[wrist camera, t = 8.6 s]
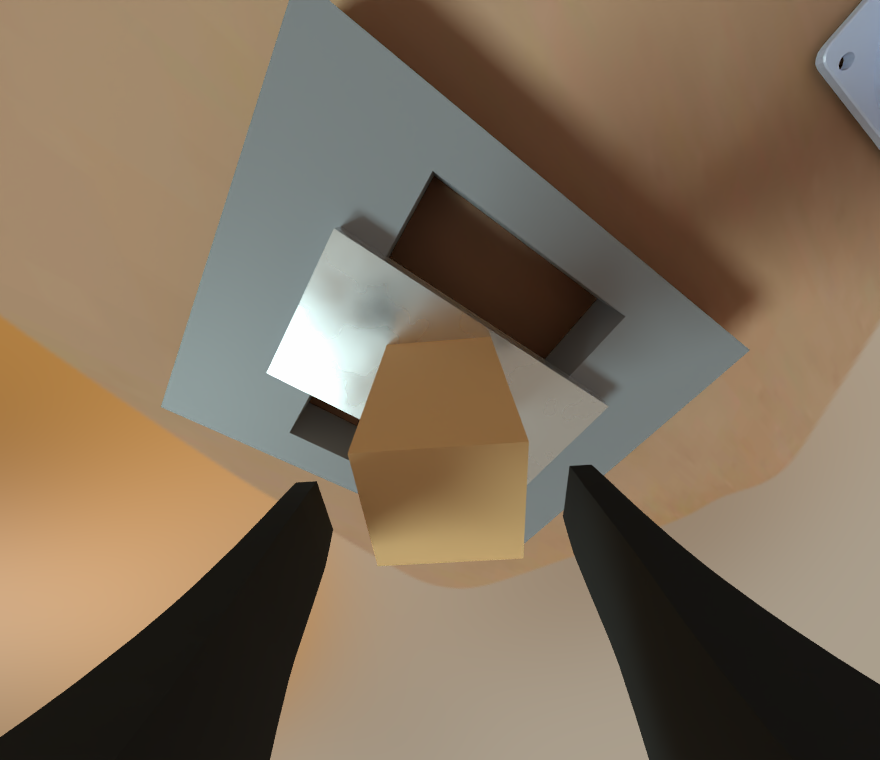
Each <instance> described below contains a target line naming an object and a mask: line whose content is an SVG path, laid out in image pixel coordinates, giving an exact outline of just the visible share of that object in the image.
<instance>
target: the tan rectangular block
mask: <svg viewBox="0 0 880 760" xmlns="http://www.w3.org/2000/svg"><path fill="white" fill-rule="evenodd" d="M528 452H529V440H528V438H527V435H526V432H525V429H524V427H523V424H522V421H521V418H520V416H519V413H518V410H517V407H516V405H515V402H514V399H513V396H512V394H511V391H510V388H509V385H508V383H507V380H506V377H505V374H504V372H503V369H502V366H501V363H500V361H499V358H498V355H497V352H496V350H495V347H494V344H493V341H492V339H491V337H479V338H466V339H454V340H441V341H428V342H415V343H403V344H390V345H387V346H386V348H385V351H384V354H383V357H382V360H381V362H380V365H379V368H378V371H377V373H376V376H375V379H374V382H373V384H372V387H371V390H370V393H369V396H368V398H367V401H366V404H365V407H364V409H363V412H362V415H361V418H360V420H359V423H358V426H357V429H356V431H355V434H354V437H353V440H352V443H351V445H350V448H349V451H348V457H349V461H350V465H351V468H352V472H353V476H354V480H355V483H356V487H357V491H358V494H359V498H360V502H361V505H362V509H363V513H364V517H365V520H366V524H367V528H368V531H369V535H370V539H371V543H372V546H373V550H374V554H375V557H376V561H377V564H378V566H389V565H408V564H427V563H446V562H466V561H485V560H504V559H523V554H524V533H525V513H526V493H527V472H528Z"/></svg>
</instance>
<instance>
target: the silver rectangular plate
mask: <svg viewBox="0 0 880 760" xmlns="http://www.w3.org/2000/svg"><path fill="white" fill-rule="evenodd" d="M479 337H491V339H492V341H493V344H494V347H495V350H496V352H497V355H498V358H499V361H500V363H501V366H502V369H503V372H504V374H505V377H506V380H507V383H508V385H509V388H510V391H511V394H512V396H513V399H514V402H515V405H516V407H517V410H518V413H519V416H520V418H521V421H522V424H523V427H524V429H525V432H526V435H527V438H528V440H529V452H528V472H527V484H528V483H530V482H531V481H532V480H533V479H534V478H535V477H536V476H537V475H538V474H539V473H540V472H541V471H542V470H543V469H544V468H545V467H546V466H547V465H548V464H549V463H550V462H551V461H552V460H554V459H555V458H556V457H557V456H558V455H559V454H560V453H561V452H562V451H563V450H564V449H565V448H566V447H567V446H568V445H569V444H570V443H571V442H572V441H573V440H574V439H575V438H576V437H578V436H579V435H580V434H581V433H582V432H583V431H584V430H585V429H586V428H587V427H588V426H589V425H590V424H591V423H592V422H593V421H594V420H595V419H596V418H597V417H598V416H599V415H601V414H602V413H603V412H604V411H605V410H606V409H607V408H608V407H609V406H608V405H607V404H606V403H605V401H604V400H603V399H602V398H601V396H600V395H598V394H597V393H595V392H594V391H592V390H591V389H589V388H587V387H586V386H584V385H583V384H581V383H580V382H578V381H577V380H575V379H574V378H572V377H571V376H569V375H568V374H566V373H565V372H563V371H561V370H560V369H558V368H557V367H555V366H554V365H552V364H551V363H549V362H548V361H546V360H545V359H543V358H542V357H540V356H539V355H537V354H535V353H534V352H532V351H531V350H529V349H528V348H526V347H525V346H523V345H522V344H520V343H519V342H517V341H516V340H514V339H513V338H511V337H509V336H508V335H506V334H505V333H503V332H502V331H500V330H499V329H497V328H496V327H494V326H493V325H491V324H490V323H488V322H487V321H485V320H483V319H482V318H480V317H479V316H477V315H476V314H474V313H473V312H471V311H470V310H468V309H467V308H465V307H464V306H462V305H460V304H459V303H457V302H456V301H454V300H453V299H451V298H450V297H448V296H447V295H445V294H444V293H442V292H441V291H439V290H438V289H436V288H434V287H433V286H431V285H430V284H428V283H427V282H425V281H424V280H422V279H421V278H419V277H418V276H416V275H415V274H413V273H412V272H410V271H408V270H407V269H405V268H404V267H402V266H401V265H399V264H398V263H396V262H395V261H393V260H392V259H390V258H389V257H387V256H386V255H384V254H382V253H381V252H379V251H378V250H376V249H375V248H373V247H372V246H370V245H369V244H367V243H366V242H364V241H363V240H361V239H360V238H358V237H356V236H355V235H353V234H352V233H350V232H349V231H347V230H346V229H344V228H343V227H341V226H340V227H337V228H334V229H333V231H332V233H331V236H330V238H329V240H328V242H327V244H326V246H325V249H324V251H323V253H322V255H321V257H320V259H319V262H318V264H317V266H316V268H315V270H314V272H313V275H312V277H311V279H310V281H309V283H308V285H307V287H306V290H305V292H304V294H303V296H302V298H301V300H300V303H299V305H298V307H297V309H296V311H295V313H294V316H293V318H292V320H291V322H290V324H289V326H288V329H287V331H286V333H285V335H284V337H283V339H282V342H281V344H280V346H279V348H278V350H277V352H276V355H275V357H274V359H273V361H272V363H271V365H270V368H269V370H268V372H267V373H268V374H270V375H272V376H274V377H276V378H278V379H280V380H282V381H284V382H286V383H288V384H290V385H292V386H294V387H296V388H298V389H300V390H302V391H304V392H306V393H308V394H310V395H312V396H314V397H316V398H318V399H320V400H322V401H324V402H326V403H328V404H330V405H332V406H334V407H336V408H338V409H340V410H342V411H344V412H346V413H348V414H350V415H352V416H354V417H356V418H358V419H360V418H361V415H362V412H363V409H364V407H365V404H366V401H367V398H368V396H369V393H370V390H371V387H372V384H373V382H374V379H375V376H376V373H377V371H378V368H379V365H380V362H381V360H382V357H383V354H384V351H385V348H386V346H387V345H390V344H403V343H415V342H428V341H441V340H454V339H466V338H479Z"/></svg>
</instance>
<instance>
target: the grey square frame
mask: <svg viewBox="0 0 880 760" xmlns="http://www.w3.org/2000/svg"><path fill="white" fill-rule="evenodd" d="M433 176H435V177H437V178H438V179H439V180H441V181H442V182H443V183H445V184H446V185H447V186H449V187H450V188H451V189H453V190H454V191H455V192H457V193H458V194H459V195H461V196H462V197H463V198H465V199H466V200H467V201H469V202H470V203H471V204H473V205H474V206H475V207H477V208H478V209H479V210H481V211H482V212H483V213H485V214H486V215H487V216H489V217H490V218H491V219H493V220H494V221H495V222H497V223H498V224H499V225H501V226H502V227H503V228H505V229H506V230H507V231H508V232H510V233H511V234H512V235H514V236H515V237H516V238H518V239H519V240H520V241H522V242H523V243H524V244H526V245H527V246H528V247H530V248H531V249H532V250H534V251H535V252H536V253H538V254H539V255H540V256H542V257H543V258H544V259H546V260H547V261H548V262H550V263H551V264H552V265H554V266H555V267H556V268H558V269H559V270H560V271H562V272H563V273H564V274H566V275H567V276H568V277H570V278H571V279H572V280H574V281H575V282H576V283H578V284H579V285H580V286H582V287H583V288H584V289H585V290H587V291H588V292H589V293H591V294H592V295H593V296H595V297H596V298H597V300H596V301H595V302H594V303H593V305H592V306H591V307H590V308H589V309H588V310H587V311H586V313H585V314H584V315H583V316H582V317H581V318H580V319H579V321H578V322H577V323H576V324H575V325H574V326H573V327H572V329H571V330H570V331H569V332H568V333H567V334H566V335H565V337H564V338H563V339H562V340H561V341H560V342H559V343H558V345H557V346H556V347H555V348H554V349H553V350H552V352H551V353H550V354H549V355H548V356H547V357H546V358H545V360H546V361H548V362H549V363H551V364H552V365H554V366H555V367H557V368H558V369H560V370H561V371H563V372H565V373H566V374H568V375H569V376H571V377H572V378H574V379H575V380H577V381H578V382H580V383H581V384H583V385H584V386H586V387H587V388H589V389H591V390H592V391H594V392H595V393H597V394H598V395H600V396H601V398H602V399H603V400H604V401H605V403H606V404H607V405H608V406H609V407H608V408H607V409H606V410H605V411H604V412H603V413H602V414H601V415H599V416H598V417H597V418H596V419H595V420H594V421H593V422H592V423H591V424H590V425H589V426H588V427H587V428H586V429H585V430H584V431H583V432H582V433H581V434H580V435H579V436H578V437H576V438H575V439H574V440H573V441H572V442H571V443H570V444H569V445H568V446H567V447H566V448H565V449H564V450H563V451H562V452H561V453H560V454H559V455H558V456H557V457H556V458H555V459H554V460H552V461H551V462H550V463H549V464H548V465H547V466H546V467H545V468H544V469H543V470H542V471H541V472H540V473H539V474H538V475H537V476H536V477H535V478H534V479H533V480H532V481H531V482H530V483H528V484H527V493H526V513H525V533H524V543H525V542H527V541H528V540H529V539H530V538H531V537H532V536H534V535H535V534H536V533H537V532H538V531H539V530H541V529H542V528H543V527H544V526H545V525H546V524H548V523H549V522H550V521H551V520H552V519H553V518H555V517H556V516H557V515H558V514H559V513H560V512H562V511H563V510H564V505H565V497H566V489H567V481H568V473H569V466H575V465H593V466H594V467H595V468H596V469H597V470H598V471H599V472H600V473H601V474H602V475H603V476H604V475H605V474H606V473H607V472H608V471H609V470H611V469H612V468H613V467H614V466H615V465H616V464H618V463H619V462H620V461H621V460H622V459H623V458H625V457H626V456H627V455H628V454H629V453H630V452H632V451H633V450H634V449H635V448H636V447H637V446H639V445H640V444H641V443H642V442H643V441H644V440H646V439H647V438H648V437H649V436H650V435H651V434H653V433H654V432H655V431H656V430H657V429H658V428H660V427H661V426H662V425H663V424H664V423H665V422H667V421H668V420H669V419H670V418H671V417H672V416H674V415H675V414H676V413H677V412H678V411H679V410H681V409H682V408H683V407H684V406H685V405H686V404H688V403H689V402H690V401H691V400H692V399H693V398H695V397H696V396H697V395H698V394H699V393H700V392H702V391H703V390H704V389H705V388H706V387H707V386H709V385H710V384H711V383H712V382H713V381H714V380H716V379H717V378H718V377H719V376H720V375H721V374H723V373H724V372H725V371H726V370H727V369H728V368H730V367H731V366H732V365H733V364H734V363H735V362H737V361H738V360H739V359H740V358H741V357H742V356H744V355H745V354H746V353H747V352H748V351H749V349H748V348H747V347H745V346H744V345H743V344H742V343H741V342H739V341H738V340H737V339H736V338H735V337H733V336H732V335H731V334H730V333H729V332H727V331H726V330H725V329H724V328H722V327H721V326H720V325H719V324H718V323H716V322H715V321H714V320H713V319H712V318H710V317H709V316H708V315H707V314H706V313H704V312H703V311H702V310H701V309H700V308H698V307H697V306H696V305H695V304H694V303H692V302H691V301H690V300H689V299H688V298H686V297H685V296H684V295H683V294H682V293H680V292H679V291H678V290H677V289H676V288H674V287H673V286H672V285H671V284H670V283H668V282H667V281H666V280H665V279H664V278H662V277H661V276H660V275H659V274H658V273H656V272H655V271H654V270H653V269H652V268H650V267H649V266H648V265H647V264H645V263H644V262H643V261H642V260H641V259H639V258H638V257H637V256H636V255H635V254H633V253H632V252H631V251H630V250H629V249H627V248H626V247H625V246H624V245H623V244H621V243H620V242H619V241H618V240H617V239H615V238H614V237H613V236H612V235H611V234H609V233H608V232H607V231H606V230H605V229H603V228H602V227H601V226H600V225H599V224H597V223H596V222H595V221H594V220H593V219H591V218H590V217H589V216H588V215H587V214H585V213H584V212H583V211H582V210H581V209H579V208H578V207H577V206H576V205H575V204H573V203H572V202H571V201H570V200H568V199H567V198H566V197H565V196H564V195H562V194H561V193H560V192H559V191H558V190H556V189H555V188H554V187H553V186H552V185H550V184H549V183H548V182H547V181H546V180H544V179H543V178H542V177H541V176H540V175H538V174H537V173H536V172H535V171H534V170H532V169H531V168H530V167H529V166H528V165H526V164H525V163H524V162H523V161H522V160H520V159H519V158H518V157H517V156H516V155H514V154H513V153H512V152H511V151H510V150H508V149H507V148H506V147H505V146H504V145H502V144H501V143H500V142H499V141H498V140H496V139H495V138H494V137H493V136H492V135H490V134H489V133H488V132H487V131H485V130H484V129H483V128H482V127H481V126H479V125H478V124H477V123H476V122H475V121H473V120H472V119H471V118H470V117H469V116H467V115H466V114H465V113H464V112H463V111H461V110H460V109H459V108H458V107H457V106H455V105H454V104H453V103H452V102H451V101H449V100H448V99H447V98H446V97H445V96H443V95H442V94H441V93H440V92H439V91H437V90H436V89H435V88H434V87H433V86H431V85H430V84H429V83H428V82H427V81H425V80H424V79H423V78H422V77H421V76H419V75H418V74H417V73H416V72H415V71H413V70H412V69H411V68H410V67H408V66H407V65H406V64H405V63H404V62H402V61H401V60H400V59H399V58H398V57H396V56H395V55H394V54H393V53H392V52H390V51H389V50H388V49H387V48H386V47H384V46H383V45H382V44H381V43H380V42H378V41H377V40H376V39H375V38H374V37H372V36H371V35H370V34H369V33H368V32H366V31H365V30H364V29H363V28H362V27H360V26H359V25H358V24H357V23H356V22H354V21H353V20H352V19H351V18H350V17H348V16H347V15H346V14H345V13H344V12H342V11H341V10H340V9H339V8H338V7H336V6H335V5H334V4H333V3H331V2H330V1H329V0H289V3H288V6H287V9H286V12H285V15H284V18H283V22H282V25H281V28H280V31H279V34H278V37H277V41H276V44H275V47H274V50H273V53H272V56H271V60H270V63H269V66H268V69H267V72H266V75H265V79H264V82H263V85H262V88H261V91H260V95H259V98H258V101H257V104H256V107H255V110H254V114H253V117H252V120H251V123H250V126H249V129H248V133H247V136H246V139H245V142H244V145H243V148H242V152H241V155H240V158H239V161H238V164H237V167H236V171H235V174H234V177H233V180H232V183H231V187H230V190H229V193H228V196H227V199H226V202H225V206H224V209H223V212H222V215H221V218H220V221H219V225H218V228H217V231H216V234H215V237H214V240H213V244H212V247H211V250H210V253H209V256H208V259H207V263H206V266H205V269H204V272H203V275H202V279H201V282H200V285H199V288H198V291H197V294H196V298H195V301H194V304H193V307H192V310H191V313H190V317H189V320H188V323H187V326H186V329H185V332H184V336H183V339H182V342H181V345H180V348H179V351H178V355H177V358H176V361H175V364H174V367H173V371H172V374H171V377H170V380H169V383H168V386H167V390H166V393H165V396H164V399H163V402H162V405H161V407H162V408H165V409H167V410H169V411H171V412H174V413H176V414H178V415H180V416H183V417H185V418H187V419H190V420H192V421H194V422H196V423H199V424H201V425H203V426H205V427H208V428H210V429H212V430H215V431H217V432H219V433H221V434H224V435H226V436H228V437H230V438H233V439H235V440H237V441H240V442H242V443H244V444H246V445H249V446H251V447H253V448H255V449H258V450H260V451H262V452H265V453H267V454H269V455H271V456H274V457H276V458H278V459H280V460H283V461H285V462H287V463H290V464H292V465H294V466H296V467H299V468H301V469H303V470H305V471H308V472H310V473H312V474H315V475H317V476H319V477H321V478H324V479H326V480H328V481H330V482H333V483H335V484H337V485H340V486H342V487H344V488H346V489H349V490H351V491H353V492H355V493H358V491H357V487H356V483H355V480H354V476H353V472H352V468H351V465H350V461H349V457H348V451H349V448H350V445H351V443H352V440H353V437H354V434H355V431H356V429H357V426H355V425H353V424H351V423H349V422H347V421H345V420H343V419H341V418H339V417H337V416H335V415H333V414H331V413H329V412H327V411H325V410H323V409H321V408H319V407H317V406H315V405H313V404H311V403H309V401H310V399H311V398H312V395H310V394H308V393H306V392H304V391H302V390H300V389H298V388H296V387H294V386H292V385H290V384H288V383H286V382H284V381H282V380H280V379H278V378H276V377H274V376H272V375H270V374H268V373H267V372H268V370H269V368H270V365H271V363H272V361H273V359H274V357H275V355H276V352H277V350H278V348H279V346H280V344H281V342H282V339H283V337H284V335H285V333H286V331H287V329H288V326H289V324H290V322H291V320H292V318H293V316H294V313H295V311H296V309H297V307H298V305H299V303H300V300H301V298H302V296H303V294H304V292H305V290H306V287H307V285H308V283H309V281H310V279H311V277H312V275H313V272H314V270H315V268H316V266H317V264H318V262H319V259H320V257H321V255H322V253H323V251H324V249H325V246H326V244H327V242H328V240H329V238H330V236H331V233H332V231H333V229H334V228H337V227H340V226H341V227H343V228H344V229H346V230H347V231H349V232H350V233H352V234H353V235H355V236H356V237H358V238H360V239H361V240H363V241H364V242H366V243H367V244H369V245H370V246H372V247H373V248H375V249H376V250H378V251H379V252H381V253H382V254H384V255H386V256H387V257H389V256H390V254H391V253H392V251H393V249H394V247H395V245H396V244H397V242H398V240H399V238H400V236H401V234H402V233H403V231H404V229H405V227H406V225H407V224H408V222H409V220H410V218H411V216H412V215H413V213H414V211H415V209H416V207H417V205H418V204H419V202H420V200H421V198H422V196H423V195H424V193H425V191H426V189H427V187H428V186H429V184H430V182H431V180H432V178H433Z"/></svg>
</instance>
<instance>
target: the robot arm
mask: <svg viewBox="0 0 880 760" xmlns="http://www.w3.org/2000/svg"><path fill="white" fill-rule="evenodd" d="M842 57H843V59H844V62H843V66H842V67H841V69H839V62H840V60H841V58H842ZM815 65H816V68H817V70H818V71H819V73H820V74H821V75H822V76H823V78H824V79H825V80H826V82H827V83H828V84H829V85H830V87H831V88H832V89H833V91H834V92H835V93H836V94H837V96H838V97H839V98H840V100H841V101H842V102H843V103H844V105H845V106H846V107H847V109H848V110H849V111H850V112H851V114H852V115H853V116H854V118H855V119H856V120H857V121H858V123H859V124H860V125H861V127H862V128H863V129H864V130H865V132H866V133H867V134H868V136H869V137H870V138H871V139H872V141H873V142H874V143H875V145H876V146H877V147H878V148H879V150H880V0H862V1H861V2H860V4H859V5H858V6H857V7H856V8H855V9H854V10H853V12H852V13H851V14H850V15H849V16H848V17H847V18H846V20H845V21H844V22H843V23H842V24H841V25H840V26H839V28H838V29H837V30H836V31H835V32H834V33H833V34H832V36H831V37H830V38H829V39H828V40H827V41H826V42H825V44H824V45H823V46H822V47H821V49H820V50H819V52H818V54H817V57H816V62H815ZM563 518H564V522H565V526H566V529H567V533H568V536H569V540H570V543H571V546H572V549H573V553H574V555H575V558H576V560H577V563H578V565H579V567H580V570H581V573H582V575H583V577H584V580H585V582H586V585H587V587H588V589H589V592H590V594H591V597H592V599H593V602H594V604H595V606H596V608H597V611H598V613H599V616H600V618H601V621H602V623H603V625H604V628H605V630H606V633H607V635H608V638H609V640H610V642H611V645H612V648H613V650H614V653H615V656H616V658H617V661H618V663H619V666H620V669H621V672H622V675H623V678H624V682H625V685H626V687H627V691H628V693H629V697H630V700H631V703H632V706H633V709H634V712H635V715H636V718H637V722H638V725H639V728H640V732H641V735H642V738H643V741H644V744H645V748H646V751H647V754H648V757H649V760H880V684H878V683H876V682H875V681H873V680H872V679H870V678H869V677H867V676H865V675H864V674H862V673H860V672H859V671H857V670H856V669H854V668H853V667H851V666H849V665H848V664H846V663H845V662H843V661H841V660H840V659H838V658H837V657H835V656H834V655H832V654H831V653H829V652H828V651H826V650H825V649H823V648H822V647H820V646H819V645H817V644H816V643H814V642H812V641H811V640H810V639H808V638H806V637H805V636H803V635H802V634H800V633H799V632H797V631H796V630H794V629H793V628H791V627H790V626H788V625H787V624H785V623H784V622H782V621H781V620H779V619H778V618H777V617H775V616H774V615H772V614H771V613H769V612H768V611H766V610H765V609H764V608H762V607H761V606H759V605H758V604H757V603H755V602H754V601H753V600H751V599H750V598H748V597H747V596H746V595H744V594H743V593H742V592H740V591H739V590H738V589H736V588H735V587H733V586H732V585H731V584H729V583H728V582H727V581H725V580H724V579H723V578H721V577H720V576H719V575H717V574H716V573H715V572H713V571H712V570H711V569H709V568H708V567H707V566H706V565H704V564H703V563H702V562H701V561H699V560H698V559H697V558H696V557H695V556H693V555H692V554H691V553H690V552H688V551H687V550H686V549H685V548H683V547H682V546H681V545H680V544H679V543H677V542H676V541H675V540H674V539H672V537H670V536H669V535H668V534H667V533H666V532H665V531H663V530H662V529H661V528H660V527H659V526H658V525H657V524H656V523H654V522H653V521H652V520H651V519H650V518H649V517H648V516H646V515H645V514H644V513H643V512H642V511H641V510H640V509H639V508H638V507H636V506H635V505H634V504H633V503H632V502H631V501H630V500H629V499H628V498H627V497H626V496H625V495H624V494H622V493H621V492H620V491H619V490H618V489H617V488H616V487H615V486H614V485H613V484H612V483H611V482H610V481H609V480H608V479H607V478H606V477H604V476H603V475H602V474H601V473H600V472H599V471H598V470H597V469H596V468H595V467H594V466H593V465H575V466H569V473H568V481H567V489H566V497H565V505H564V513H563ZM332 532H333V528H332V525H331V522H330V519H329V516H328V513H327V510H326V507H325V504H324V502H323V499H322V496H321V493H320V490H319V487H318V484H317V481H315V482H298V483H295V484H294V485H293V486H292V487H291V488H290V489H289V490H288V491H287V492H286V493H285V494H284V496H283V497H282V498H281V499H280V500H279V501H278V502H277V503H276V504H275V505H274V506H273V507H272V508H271V509H270V510H269V511H268V512H267V513H266V515H265V516H264V517H263V518H262V519H261V520H260V521H259V522H258V523H257V524H256V525H255V526H254V527H253V528H252V529H251V530H250V531H249V532H248V533H247V534H246V535H245V536H244V538H242V539H241V540H240V542H238V544H237V545H236V546H235V547H234V548H233V549H232V550H230V551H229V552H228V553H227V554H226V555H225V556H224V557H223V558H222V559H221V560H220V561H219V562H218V563H217V564H216V565H215V566H214V567H213V568H212V569H211V570H210V571H209V572H208V573H206V574H205V575H204V576H203V577H202V578H201V579H200V580H199V581H198V582H197V583H196V584H195V585H194V586H193V587H192V588H191V589H190V590H189V591H187V592H186V593H185V594H184V595H183V596H182V597H181V598H180V599H178V600H177V601H176V602H175V603H174V604H173V605H172V606H170V607H169V608H168V609H167V610H166V611H165V612H164V613H162V614H161V615H160V616H159V617H158V618H156V619H155V620H154V621H153V622H152V623H151V624H149V625H148V626H147V627H146V628H145V629H143V630H142V631H141V632H140V633H139V634H137V635H136V636H135V637H134V638H132V639H131V640H130V641H129V642H127V643H126V644H125V645H124V646H122V647H121V648H120V649H118V650H117V651H116V652H115V653H113V654H112V655H111V656H109V657H108V658H107V659H106V660H104V661H103V662H102V663H101V664H99V665H98V666H97V667H95V668H94V669H93V670H92V671H90V672H89V673H88V674H86V675H85V676H84V677H83V678H81V679H80V680H79V681H77V682H76V683H75V684H73V685H72V686H71V687H70V688H68V689H67V690H65V691H64V692H63V693H61V694H60V695H59V696H57V697H56V698H54V699H53V700H52V701H51V702H49V703H48V704H46V705H45V706H43V707H42V708H41V709H39V710H38V711H37V712H35V713H34V714H32V715H31V716H30V717H28V718H27V719H25V720H24V721H23V722H21V723H20V724H19V725H17V726H15V727H14V728H13V729H11V730H10V731H8V732H7V733H6V734H4V735H3V736H1V737H0V760H270V757H271V752H272V748H273V744H274V739H275V735H276V730H277V726H278V722H279V718H280V713H281V710H282V705H283V701H284V697H285V693H286V689H287V685H288V680H289V677H290V674H291V670H292V667H293V664H294V660H295V657H296V654H297V651H298V648H299V645H300V642H301V639H302V636H303V633H304V630H305V627H306V624H307V620H308V618H309V615H310V612H311V609H312V606H313V603H314V600H315V596H316V594H317V591H318V588H319V585H320V582H321V578H322V575H323V572H324V569H325V566H326V561H327V557H328V552H329V547H330V542H331V537H332Z"/></svg>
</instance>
